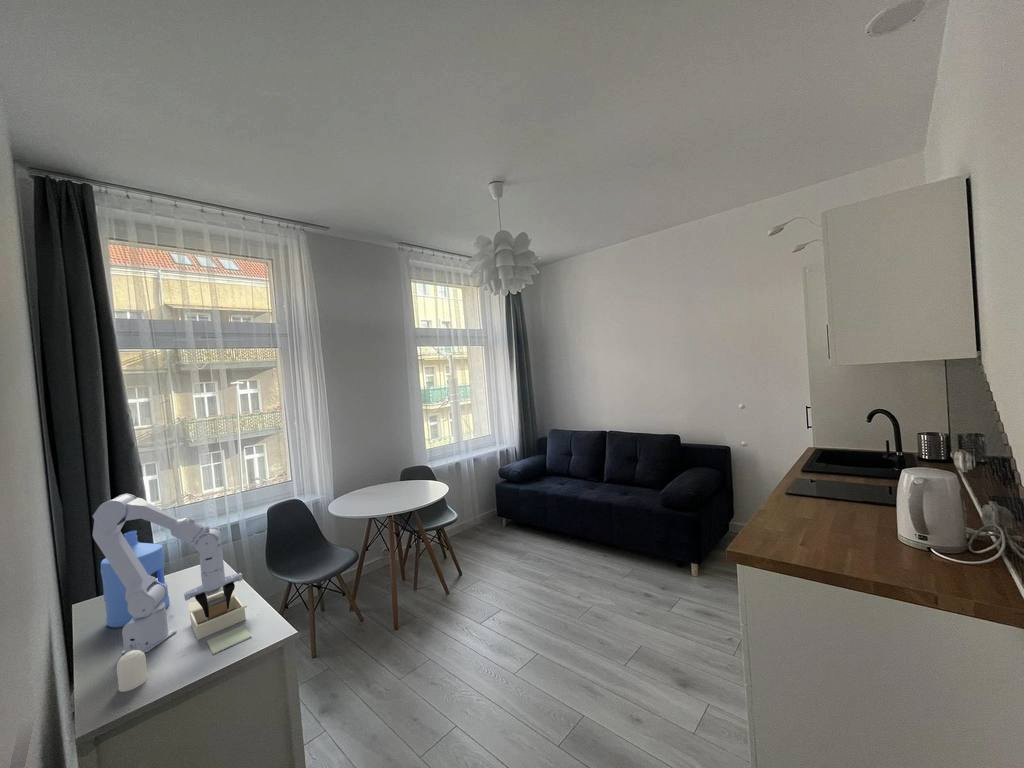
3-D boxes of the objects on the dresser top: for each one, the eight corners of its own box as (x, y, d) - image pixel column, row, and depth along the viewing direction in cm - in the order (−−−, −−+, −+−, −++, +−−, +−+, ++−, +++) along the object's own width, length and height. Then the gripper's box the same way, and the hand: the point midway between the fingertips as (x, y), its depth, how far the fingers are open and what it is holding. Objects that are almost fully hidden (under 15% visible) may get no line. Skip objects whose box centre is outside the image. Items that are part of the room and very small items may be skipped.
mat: (251, 637, 116) (251, 635, 116) (213, 654, 109) (213, 653, 109) (243, 626, 122) (243, 624, 122) (207, 642, 116) (206, 640, 116)
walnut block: (228, 618, 126) (225, 596, 126) (210, 626, 123) (208, 603, 123) (225, 614, 129) (222, 592, 129) (207, 621, 126) (205, 598, 126)
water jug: (111, 634, 125) (101, 545, 125) (103, 620, 135) (93, 537, 134) (175, 608, 138) (166, 527, 137) (163, 597, 147) (154, 521, 147)
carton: (248, 623, 123) (246, 605, 123) (200, 645, 115) (197, 625, 115) (234, 603, 137) (232, 587, 137) (189, 621, 128) (187, 603, 128)
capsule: (122, 682, 102) (119, 651, 102) (150, 672, 105) (146, 642, 105) (115, 695, 97) (111, 662, 97) (144, 684, 100) (141, 653, 100)
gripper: (236, 557, 134) (241, 597, 134) (180, 575, 123) (185, 619, 123) (242, 562, 129) (246, 604, 129) (184, 581, 118) (189, 627, 119)
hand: (217, 612), depth 126 cm, fingers closed on walnut block, 4 cm apart
